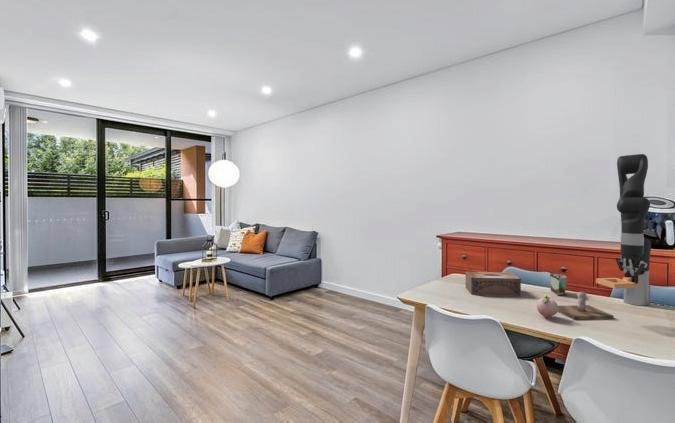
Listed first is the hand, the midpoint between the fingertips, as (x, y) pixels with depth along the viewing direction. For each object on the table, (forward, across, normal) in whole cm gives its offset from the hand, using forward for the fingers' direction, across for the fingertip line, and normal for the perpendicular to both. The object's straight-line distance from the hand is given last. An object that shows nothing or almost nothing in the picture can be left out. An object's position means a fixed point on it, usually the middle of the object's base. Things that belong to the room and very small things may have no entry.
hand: (631, 282), depth 143 cm
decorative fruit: (+17, +6, +33) cm, 38 cm away
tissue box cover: (+17, +47, +37) cm, 63 cm away
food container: (+17, +40, +1) cm, 44 cm away
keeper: (+17, +10, +14) cm, 24 cm away
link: (+1, 0, +4) cm, 4 cm away
